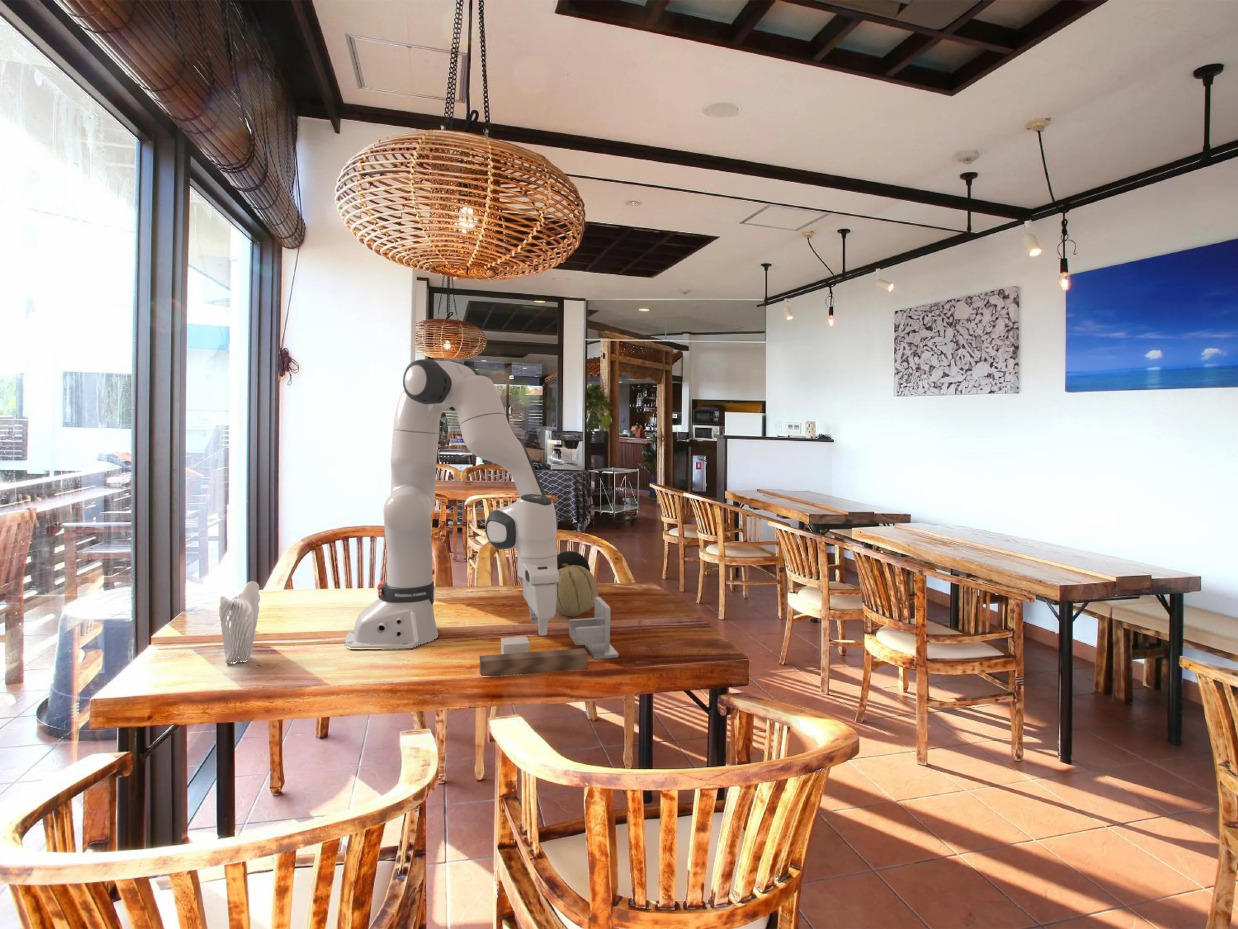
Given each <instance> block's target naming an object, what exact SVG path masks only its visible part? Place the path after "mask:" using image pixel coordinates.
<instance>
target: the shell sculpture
mask: <svg viewBox="0 0 1238 929" xmlns="http://www.w3.org/2000/svg"><path fill="white" fill-rule="evenodd" d="M259 591H260V584H259V583H258V582H257V581H255V580H251V581H248V582H247V583H246V585H245V586H244V587H243V589H242V590H241V592H240V593H239V594H238V595H236V596H233V597H226V596H225V595H224V596H223V595H222V596H220V600H219V602H220V603H219V604H220V605H219V608H218V610H219V611H218V612H219V613H218V616H219V620H220V628H221V634H222V644H223V649H224V656H225V663H226V664H227V663H231V662H232V663H233V662H236V661H237V662H238V661H239V662H240V661H242V662H243V661H246V660H247V662H249V661H248V660H250V659H251V655H252V649H253V645H254V640H255V635H256V628H257V625H258V618H259V613H260V612H259V611H260V605H259V603H260V600H261V595H260V593H259ZM238 657H239V658H238Z"/></svg>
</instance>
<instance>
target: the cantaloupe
mask: <svg viewBox="0 0 1238 929" xmlns="http://www.w3.org/2000/svg"><path fill="white" fill-rule="evenodd" d="M562 566H565V567H564V568H561V569H559V570H558V572H559V582H558V583H556V585H557V599H556V612H558V613H559V615H562V616H566V617H579V616H581V615H583V614H585V613H587V612H589V611H591V609H593V607H595V597H599V589H598V587H599V586H598V583H597V581H596V580H597V579H596V578H595V576H594V575H593V573H591V570H590V571H589V570H587V569H586V568H584V567H582V566H577V565H572V566H570V565H567V564H565V563H564V564H562Z"/></svg>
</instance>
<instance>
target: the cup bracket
mask: <svg viewBox="0 0 1238 929" xmlns="http://www.w3.org/2000/svg"><path fill="white" fill-rule="evenodd" d="M568 621H569V622H568V623H569V624H568V625H569V626H568V636H569V637H570V639H571V641H573V643H574V644H575V646H582V645H583V646H584V648H585V650H586V651H587V652H588V654H590V655H591V657H592V658H593V659H594V660H603V659H604V660H605V659H615V658H619V652H618V651H617V650H616V649H615V648H614V647H613V645H612V644H611V606H609V605H608V604H607V602H606V601H605V600H603V599H602V597H601V596H598V597H595V605H594V617H589V618H574V619H572V618H571V619H569V620H568Z"/></svg>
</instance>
